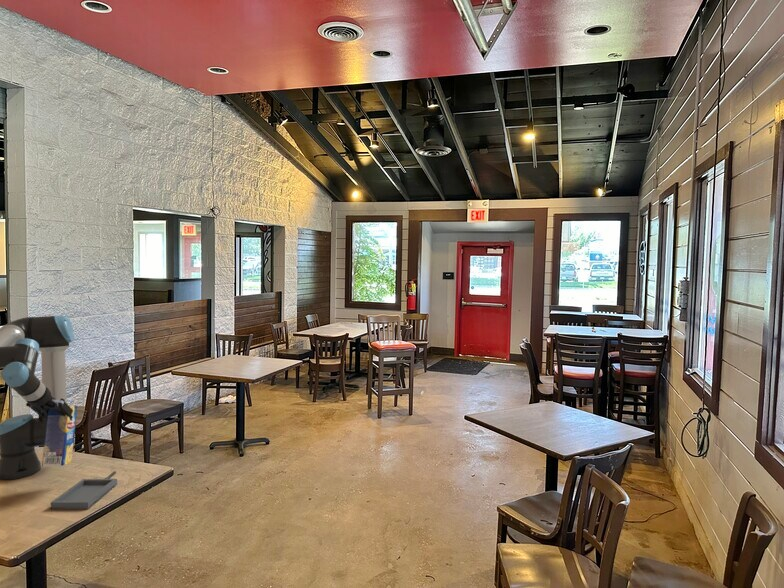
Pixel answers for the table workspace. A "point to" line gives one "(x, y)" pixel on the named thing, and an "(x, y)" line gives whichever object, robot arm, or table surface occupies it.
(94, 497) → the grey tray with handle
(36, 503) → the table surface
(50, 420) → the beverage box
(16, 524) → the table surface
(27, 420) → the robot arm
